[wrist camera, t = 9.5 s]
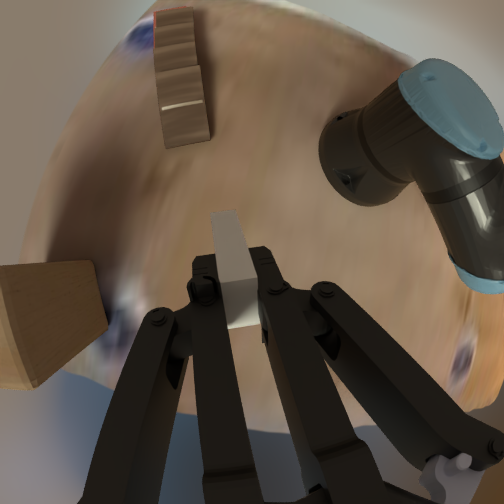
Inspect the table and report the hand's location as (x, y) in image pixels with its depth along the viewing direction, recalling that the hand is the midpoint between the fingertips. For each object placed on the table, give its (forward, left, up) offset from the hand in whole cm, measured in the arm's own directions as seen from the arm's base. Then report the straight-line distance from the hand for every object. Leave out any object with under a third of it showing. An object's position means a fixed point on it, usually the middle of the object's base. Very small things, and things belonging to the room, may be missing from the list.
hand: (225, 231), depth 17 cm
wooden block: (+21, +8, -19) cm, 29 cm away
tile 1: (+4, -13, -18) cm, 22 cm away
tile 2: (+6, -18, -18) cm, 26 cm away
